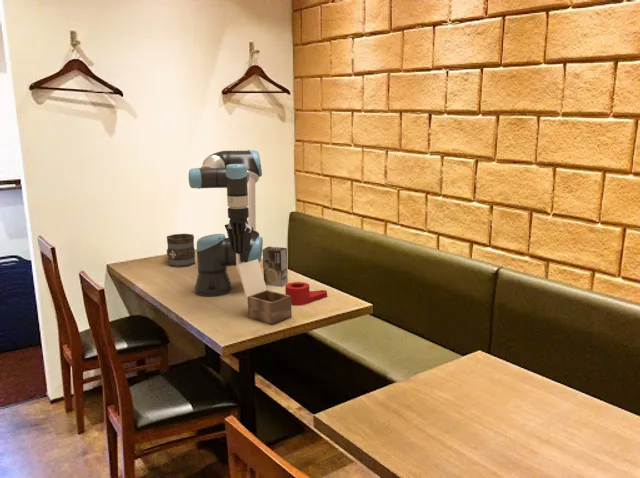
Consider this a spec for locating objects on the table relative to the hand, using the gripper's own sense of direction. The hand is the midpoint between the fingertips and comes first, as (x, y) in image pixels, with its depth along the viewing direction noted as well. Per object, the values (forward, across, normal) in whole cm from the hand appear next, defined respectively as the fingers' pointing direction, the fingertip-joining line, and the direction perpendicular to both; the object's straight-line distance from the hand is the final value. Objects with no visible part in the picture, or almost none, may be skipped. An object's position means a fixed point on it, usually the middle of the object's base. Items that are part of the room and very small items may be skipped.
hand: (240, 269), depth 210 cm
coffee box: (+16, -12, +31) cm, 37 cm away
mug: (+15, -72, +26) cm, 78 cm away
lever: (+16, +12, +24) cm, 31 cm away
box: (+16, +14, 0) cm, 21 cm away
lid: (+8, +8, 0) cm, 11 cm away
